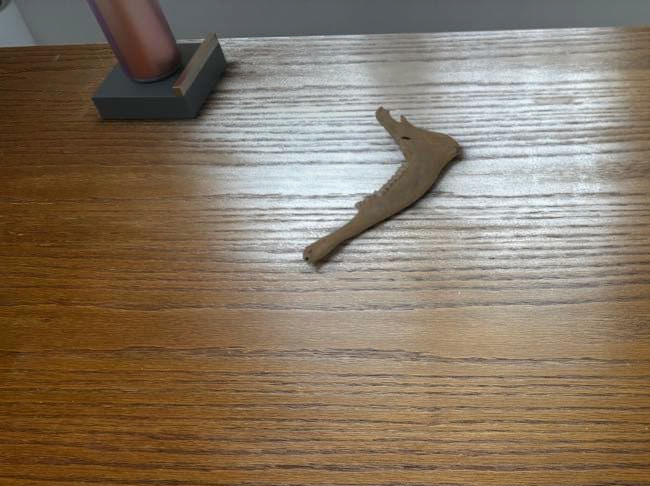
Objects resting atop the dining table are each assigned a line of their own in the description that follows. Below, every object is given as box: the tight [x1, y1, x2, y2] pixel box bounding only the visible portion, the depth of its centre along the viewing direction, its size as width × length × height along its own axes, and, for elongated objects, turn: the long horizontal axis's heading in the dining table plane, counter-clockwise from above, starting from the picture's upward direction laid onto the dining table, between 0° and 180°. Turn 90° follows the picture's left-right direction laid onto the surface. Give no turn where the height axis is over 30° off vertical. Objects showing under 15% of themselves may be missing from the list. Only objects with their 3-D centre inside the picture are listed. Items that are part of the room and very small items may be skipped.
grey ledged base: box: [90, 32, 229, 120], centre depth 87 cm, size 10×10×4 cm
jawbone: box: [302, 106, 460, 266], centre depth 73 cm, size 9×20×2 cm, turn 168°
